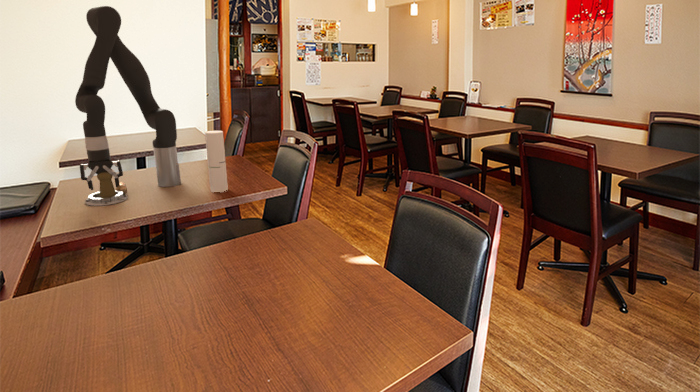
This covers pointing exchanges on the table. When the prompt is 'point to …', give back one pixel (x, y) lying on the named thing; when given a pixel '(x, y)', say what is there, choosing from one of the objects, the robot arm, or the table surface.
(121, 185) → the pipe stub
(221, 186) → the beige rectangular tower
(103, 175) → the cork
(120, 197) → the flange seat
